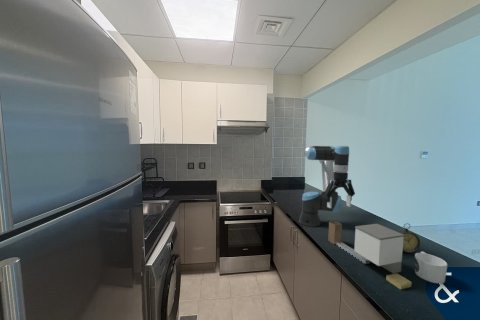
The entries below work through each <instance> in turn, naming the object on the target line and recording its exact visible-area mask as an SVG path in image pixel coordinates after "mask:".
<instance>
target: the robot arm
mask: <svg viewBox="0 0 480 320" xmlns="http://www.w3.org/2000/svg"><path fill="white" fill-rule="evenodd" d="M304 156H305V158H306V159H307V161H308V160H309V161H319V164H321V177H322V178H321V179H322V191H321V193H319V192H317V191H306V192H304V193H303V194H302V198H301V213H300V215H299V219H298V223H299V224H300V225H303V226H304V227H305V226H306V227H310V228H311V227H312V228H314V227H319V226H321V219H320V215H319V211H323V212H331V213H332V212H335V213H336V212H337V213H338V212H339V211H340V210H341V206H342V196H341V195H339V192H338V191H336V190H338V189H340V188H343V189H344V192H346V194H347V195H346V199H345V201H346V203H345V205H346V206H347V207H349V208H350V207H351V206H352V200H353V197H354V195H355V194H356V193H355V189H354V187H353V184H352V179H348V178H349V173H348V171H349V161H350V146H348V145H336V146H333V145H312V146H308V147H306V148H305V150H304Z"/></svg>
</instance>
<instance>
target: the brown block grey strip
mask: <svg viewBox="0 0 480 320" xmlns="http://www.w3.org/2000/svg"><path fill="white" fill-rule="evenodd" d="M342 233H343V223H340V222H338V221H336V220H333V221H329V222H328V237H327V239H328V242H329V241H330V243H331V244H332V243H333V244H332V245H334V244H336V246H337V245H338V246H337V247H339V248H340V247H341V248H340V249H342V250H343V249H344V250H343V251H345V252H346V251H347V252H346V253H348V254H349V253H350V254H349V255H350V256H352V255H353V258H355V257H356V259H357V260H358V259H359V260H358V261H360V262H361V261H362V263H363V264H365V265H367V264H371V261H370V260H368V259H366V258H365V257H363V256H362V255H360V254H358V253H357V252H355V251H354V248H353V247H350V246H348V244H346V243H344V242H342Z"/></svg>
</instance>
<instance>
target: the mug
mask: <svg viewBox="0 0 480 320" xmlns="http://www.w3.org/2000/svg"><path fill="white" fill-rule="evenodd" d="M447 269H448V263H447V262H446V261H445V260H444V259H443V258H441V257H438V256H436V255H432V254H429V253H426V252H425V251H420V252H416V253H414V272H415V273H414V274H416V276H418V277H419V278H421V279H423V280H425V281H426V282H430V283H432V284H433V283H434V284H438V283H442V284H445V282H446V276H447V272H448V271H447Z"/></svg>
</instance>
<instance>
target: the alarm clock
mask: <svg viewBox="0 0 480 320" xmlns="http://www.w3.org/2000/svg"><path fill="white" fill-rule="evenodd" d="M406 225H408V226H409V227H408V228H407V227H406V228H405V226H406ZM403 228H404V229H402V230H399V231H398V232H399V233H401V234H404V238H403V251H402V252H405V253H414V254H416V253H417V252H416V251H417V250H419V248H420V245H421V240H420V237H419V236H418V235H417V234H415V233H414V232H412V231H410V230H409V229H411V224H410V223H408V222H407V223H405V224H403Z"/></svg>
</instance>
